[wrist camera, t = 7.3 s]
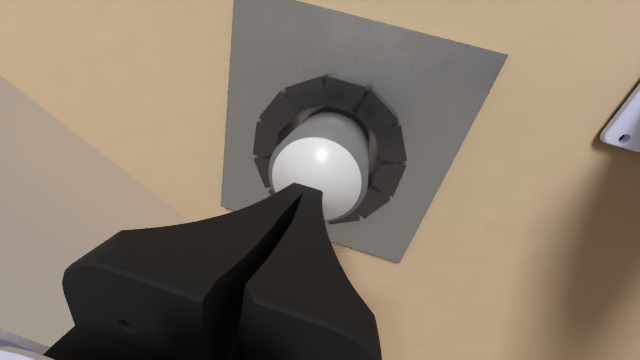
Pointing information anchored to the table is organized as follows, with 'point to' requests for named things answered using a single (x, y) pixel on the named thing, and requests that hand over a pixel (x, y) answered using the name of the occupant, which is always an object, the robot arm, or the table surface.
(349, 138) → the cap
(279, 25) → the flat grey square plate
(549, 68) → the table surface
